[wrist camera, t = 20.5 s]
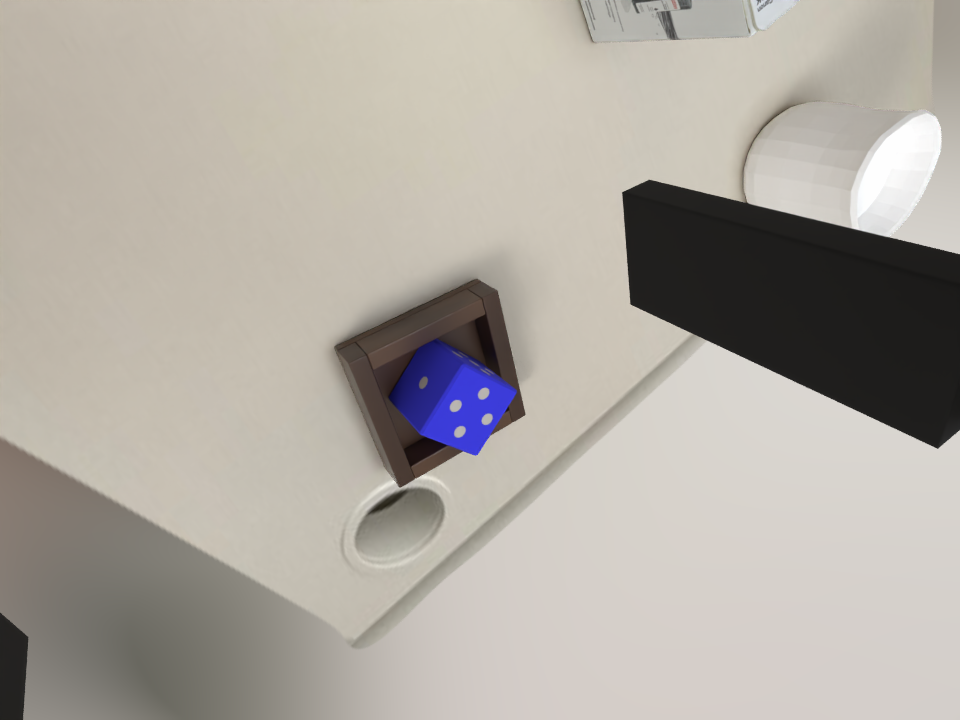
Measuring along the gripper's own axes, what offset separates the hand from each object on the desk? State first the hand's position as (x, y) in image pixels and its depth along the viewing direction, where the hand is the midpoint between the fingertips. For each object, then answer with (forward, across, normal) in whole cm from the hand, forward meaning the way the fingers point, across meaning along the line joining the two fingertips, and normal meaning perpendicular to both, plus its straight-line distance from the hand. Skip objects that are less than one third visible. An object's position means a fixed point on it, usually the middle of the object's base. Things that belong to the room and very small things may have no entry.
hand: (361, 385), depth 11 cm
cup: (+23, +44, -14) cm, 51 cm away
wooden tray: (+23, +9, -17) cm, 30 cm away
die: (+23, +9, -17) cm, 30 cm away
